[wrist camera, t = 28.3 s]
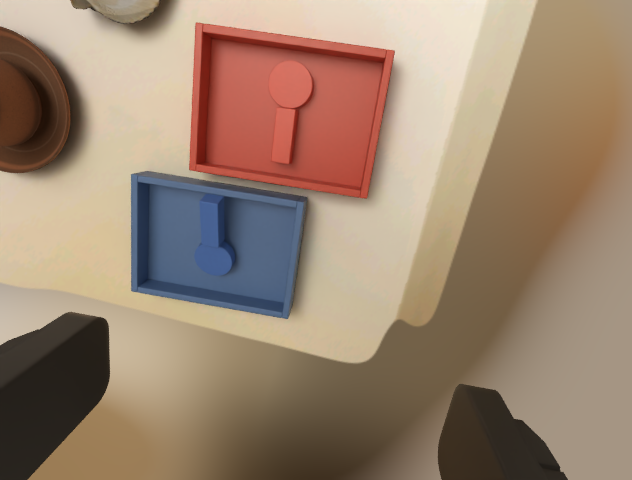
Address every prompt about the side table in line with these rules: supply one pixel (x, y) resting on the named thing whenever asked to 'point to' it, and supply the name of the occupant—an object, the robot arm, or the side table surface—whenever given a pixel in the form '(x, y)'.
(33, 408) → the robot arm
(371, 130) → the red tray
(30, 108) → the cup and saucer
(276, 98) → the red spoon
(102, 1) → the seashell
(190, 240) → the blue tray
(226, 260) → the blue spoon
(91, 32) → the side table surface
